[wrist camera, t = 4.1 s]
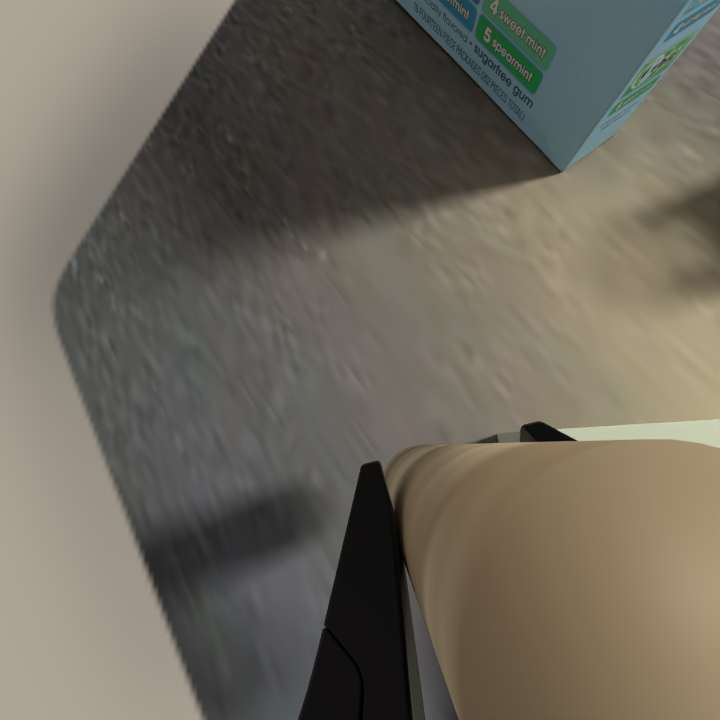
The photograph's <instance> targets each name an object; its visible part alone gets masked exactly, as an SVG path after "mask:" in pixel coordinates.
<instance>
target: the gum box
mask: <svg viewBox="0 0 720 720" xmlns="http://www.w3.org/2000/svg"><path fill="white" fill-rule="evenodd" d="M396 1H397V2H398V3H399V4H400V5H401V6H402V7H403V8H404V9H405V10H406V11H407V12H408V13H409V14H410V15H411V16H412V17H413V18H414V19H415V20H416V21H417V22H418V23H419V24H420V25H421V26H422V27H423V28H424V30H425V31H426V32H427V33H428V34H429V35H430V36H431V37H432V38H433V39H434V40H435V41H436V42H437V43H438V44H439V45H440V46H441V47H442V48H443V49H444V50H445V51H446V52H447V53H448V54H449V55H450V56H451V57H452V58H453V59H454V60H455V61H456V62H457V63H458V64H459V65H460V66H461V67H462V68H463V69H464V70H465V71H466V72H467V73H468V74H469V75H470V76H471V77H472V79H473V80H474V81H475V82H476V83H477V84H478V85H479V86H480V87H481V88H482V89H483V90H484V91H485V92H486V93H487V94H488V95H489V96H490V97H491V98H492V100H493V101H494V102H495V103H496V104H497V105H498V106H499V107H500V108H501V109H502V110H503V111H504V112H505V113H506V114H507V115H508V116H509V117H510V118H511V119H512V120H513V121H514V123H515V124H516V125H517V126H518V127H519V128H520V129H521V130H522V131H523V132H524V133H525V134H526V135H527V136H528V137H529V138H530V139H531V140H532V141H533V142H534V143H535V144H536V145H537V146H538V147H539V148H540V149H541V150H542V152H543V153H544V154H545V155H546V156H547V157H548V158H549V159H550V160H551V162H552V163H553V164H554V165H555V166H556V167H557V168H558V169H559V170H560V171H562V172H563V171H565V170H566V169H567V168H569V167H570V166H572V165H573V164H574V163H576V162H577V161H579V160H580V159H581V158H583V157H584V156H585V155H587V154H588V153H590V152H591V151H592V150H594V149H595V148H597V147H598V146H600V145H601V144H603V143H604V142H606V141H607V140H609V139H610V138H612V137H613V136H614V135H615V133H616V132H617V131H618V130H619V128H620V127H621V126H622V125H623V124H624V123H625V121H626V120H627V119H628V118H629V117H630V115H631V114H632V113H633V112H634V111H635V109H636V108H637V107H638V106H639V105H640V103H641V102H642V101H643V100H644V98H645V97H646V96H647V95H648V94H649V92H650V91H651V90H652V89H653V87H654V86H655V85H656V84H657V83H658V81H659V80H660V79H661V78H662V76H663V75H664V74H665V73H666V71H667V70H668V69H669V68H670V67H671V65H672V64H673V63H674V62H675V61H676V59H677V58H678V57H679V56H680V55H681V53H682V52H683V51H684V50H685V48H686V47H687V46H688V45H689V44H690V42H691V41H692V40H693V39H694V37H695V36H696V35H697V34H698V33H699V31H700V30H701V29H702V28H703V26H704V25H705V24H706V23H707V22H708V20H709V19H710V18H711V17H712V15H713V14H714V13H715V12H716V11H717V9H718V8H719V7H720V0H396Z"/></svg>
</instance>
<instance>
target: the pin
mask: <svg viewBox="0 0 720 720" xmlns="http://www.w3.org/2000/svg"><path fill="white" fill-rule="evenodd" d="M384 476H385V480H386V484H387V487H388V491H389V494H390V498H391V501H392V506H393V510H394V515H395V520H396V525H397V530H398V535H399V541H400V548H401V553H402V557H403V560H404V563H405V566H406V569H407V572H408V575H409V577H410V580H411V583H412V586H413V589H414V592H415V595H416V598H417V601H418V603H419V606H420V609H421V612H422V615H423V618H424V621H425V624H426V627H427V630H428V632H429V635H430V638H431V641H432V644H433V647H434V650H435V653H436V656H437V658H438V661H439V664H440V667H441V670H442V673H443V676H444V679H445V682H446V685H447V687H448V690H449V693H450V696H451V699H452V702H453V705H454V708H455V711H456V714H457V716H458V719H459V720H720V448H717V447H713V446H709V445H705V444H702V443H695V442H688V441H681V440H673V439H635V440H597V441H559V442H521V443H482V444H444V445H417V446H412V447H408V448H406V449H404V450H402V451H400V452H399V453H398V454H396V455H395V456H394V457H393V458H392V459H391V461H390V462H389V463H388V465H387V467H386V468H385V471H384Z"/></svg>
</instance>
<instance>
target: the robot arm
mask: <svg viewBox="0 0 720 720" xmlns="http://www.w3.org/2000/svg"><path fill="white" fill-rule="evenodd" d="M559 441H577V440H576V439H574V438H572V437H570V436H568V435H566V434H564V433H562V432H560V431H558V430H557V429H555V428H553V427H551V426H549V425H547V424H545V423H543V422H540V421H537V422H533V423H529V424H525V425H523V426H522V427H521V430H520V443H521V442H559ZM324 626H325V628H324V629H323V630H322V634H321V639H320V643H319V647H318V651H317V655H316V659H315V663H314V667H313V671H312V674H311V678H310V682H309V686H308V690H307V693H306V696H305V699H304V702H303V705H302V709H301V712H300V715H299V718H298V720H425V713H424V706H423V698H422V691H421V683H420V676H419V668H418V661H417V653H416V646H415V638H414V631H413V623H412V616H411V608H410V601H409V593H408V586H407V578H406V571H405V565H404V560H403V557H402V553H401V548H400V541H399V535H398V530H397V525H396V520H395V515H394V510H393V506H392V501H391V498H390V494H389V491H388V487H387V484H386V480H385V476H384V473H383V469H382V466H381V463H380V462H379V461H374V462H369V463H365V464H363V465H362V466H361V469H360V473H359V477H358V482H357V486H356V490H355V494H354V499H353V503H352V507H351V512H350V516H349V520H348V524H347V529H346V533H345V537H344V541H343V546H342V550H341V554H340V559H339V563H338V567H337V571H336V576H335V580H334V584H333V588H332V593H331V597H330V601H329V605H328V610H327V614H326V618H325V623H324Z"/></svg>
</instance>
